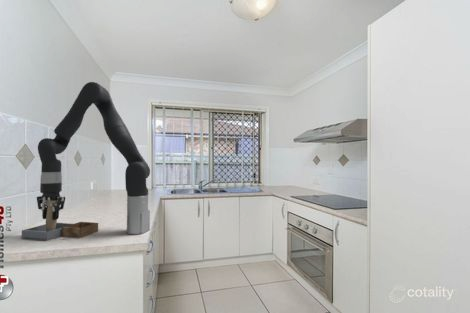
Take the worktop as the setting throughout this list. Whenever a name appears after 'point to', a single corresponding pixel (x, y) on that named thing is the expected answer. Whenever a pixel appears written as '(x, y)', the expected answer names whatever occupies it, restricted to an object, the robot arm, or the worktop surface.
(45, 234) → the tray
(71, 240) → the worktop surface
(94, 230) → the brown wooden box
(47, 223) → the handle
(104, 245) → the worktop surface
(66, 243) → the worktop surface
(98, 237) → the worktop surface
